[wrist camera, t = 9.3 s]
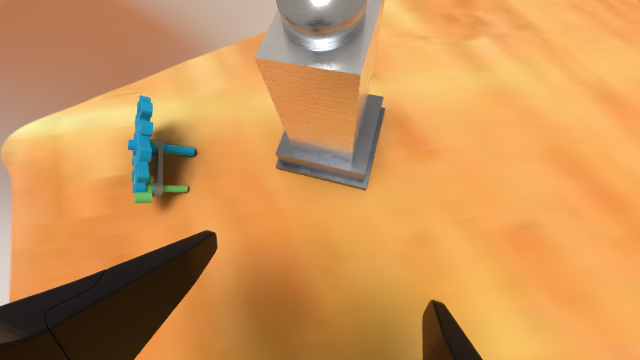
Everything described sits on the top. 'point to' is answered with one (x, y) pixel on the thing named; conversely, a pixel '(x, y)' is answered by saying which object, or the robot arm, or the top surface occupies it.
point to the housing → (321, 70)
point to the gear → (143, 152)
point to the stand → (333, 167)
